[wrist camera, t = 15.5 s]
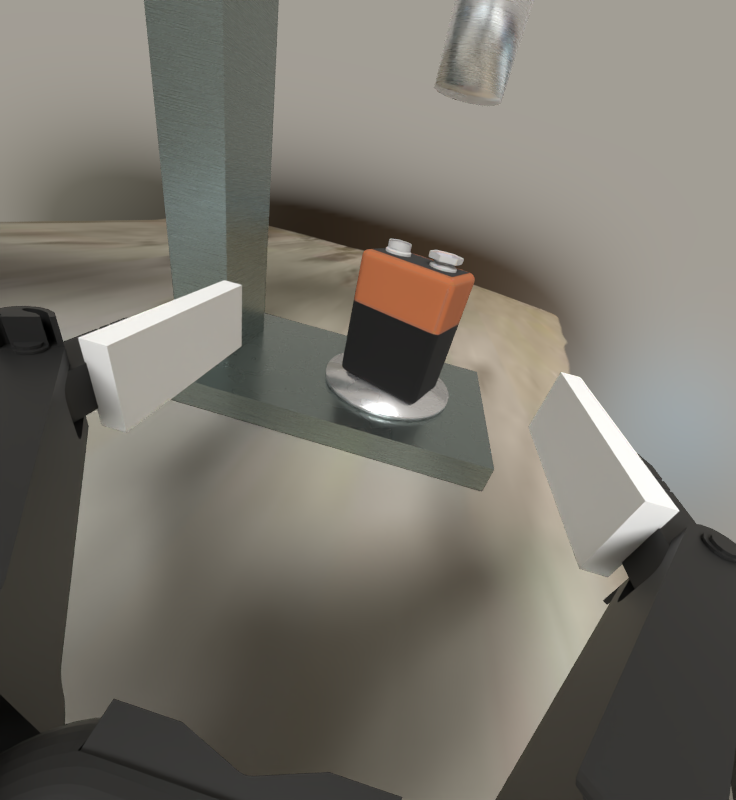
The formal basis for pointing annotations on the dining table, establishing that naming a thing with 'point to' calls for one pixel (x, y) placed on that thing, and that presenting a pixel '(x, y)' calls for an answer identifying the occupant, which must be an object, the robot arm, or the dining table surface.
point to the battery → (405, 318)
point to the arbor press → (248, 233)
